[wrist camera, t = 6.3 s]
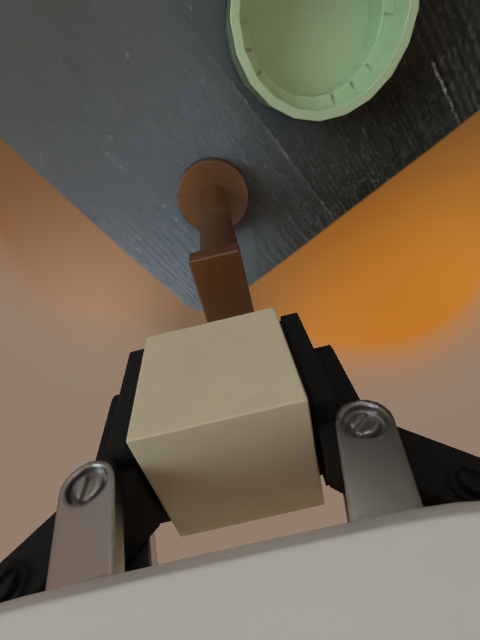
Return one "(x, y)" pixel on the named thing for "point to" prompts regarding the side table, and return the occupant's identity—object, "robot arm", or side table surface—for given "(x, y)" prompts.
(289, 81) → the green round bowl
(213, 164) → the stand
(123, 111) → the side table surface
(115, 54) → the side table surface
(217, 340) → the block
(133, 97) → the side table surface
